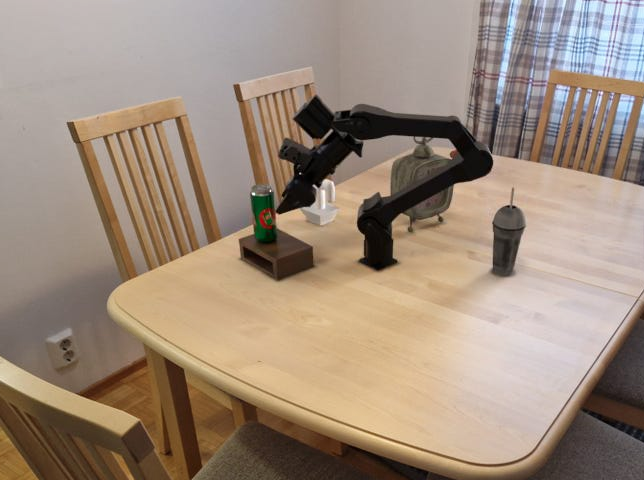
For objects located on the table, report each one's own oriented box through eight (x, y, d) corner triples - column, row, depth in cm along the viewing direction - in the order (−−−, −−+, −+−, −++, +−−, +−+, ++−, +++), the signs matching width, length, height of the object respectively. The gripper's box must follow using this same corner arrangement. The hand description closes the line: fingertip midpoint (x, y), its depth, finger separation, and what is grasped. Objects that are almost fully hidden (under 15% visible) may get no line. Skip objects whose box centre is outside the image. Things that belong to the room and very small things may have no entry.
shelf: (313, 266, 145) (313, 246, 142) (277, 280, 139) (276, 259, 136) (276, 246, 153) (275, 227, 150) (240, 259, 147) (238, 238, 144)
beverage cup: (521, 267, 148) (534, 183, 137) (515, 281, 143) (528, 194, 131) (490, 262, 150) (500, 178, 139) (483, 275, 144) (493, 189, 133)
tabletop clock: (409, 237, 160) (414, 134, 146) (386, 225, 165) (388, 125, 151) (450, 223, 168) (459, 124, 154) (427, 212, 174) (432, 116, 159)
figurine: (323, 230, 161) (321, 171, 153) (297, 220, 166) (293, 162, 158) (343, 222, 166) (342, 164, 158) (317, 212, 171) (314, 156, 162)
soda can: (257, 234, 146) (252, 182, 140) (279, 235, 146) (275, 184, 139) (252, 243, 142) (246, 191, 135) (274, 244, 142) (270, 192, 135)
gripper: (304, 114, 138) (258, 164, 144) (294, 139, 123) (242, 194, 129) (342, 151, 143) (295, 198, 149) (337, 181, 127) (285, 231, 133)
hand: (280, 204), depth 140 cm, fingers open, 9 cm apart
